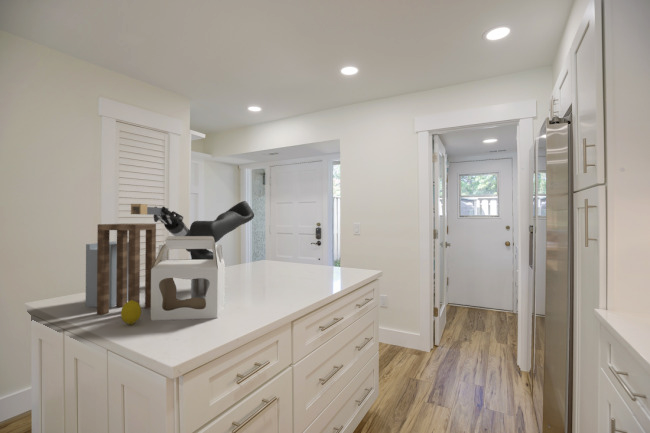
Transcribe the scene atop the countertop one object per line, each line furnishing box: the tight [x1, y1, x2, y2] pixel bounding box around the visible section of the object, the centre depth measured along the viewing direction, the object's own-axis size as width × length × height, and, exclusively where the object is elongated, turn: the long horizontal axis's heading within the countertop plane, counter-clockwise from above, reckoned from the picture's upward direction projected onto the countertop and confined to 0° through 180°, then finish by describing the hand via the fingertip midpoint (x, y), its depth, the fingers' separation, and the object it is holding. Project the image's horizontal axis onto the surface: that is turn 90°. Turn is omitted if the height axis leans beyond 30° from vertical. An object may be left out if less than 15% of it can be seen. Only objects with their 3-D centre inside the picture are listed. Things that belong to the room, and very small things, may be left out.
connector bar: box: [130, 203, 169, 216], centre depth 132 cm, size 4×20×4 cm, turn 176°
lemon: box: [120, 300, 142, 326], centre depth 101 cm, size 6×6×8 cm
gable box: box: [150, 235, 226, 321], centre depth 113 cm, size 22×13×28 cm, turn 97°
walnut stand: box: [96, 223, 157, 316], centre depth 117 cm, size 14×12×32 cm
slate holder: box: [85, 240, 129, 308], centre depth 127 cm, size 10×14×24 cm
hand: (158, 208), depth 137 cm, fingers closed on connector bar, 3 cm apart
